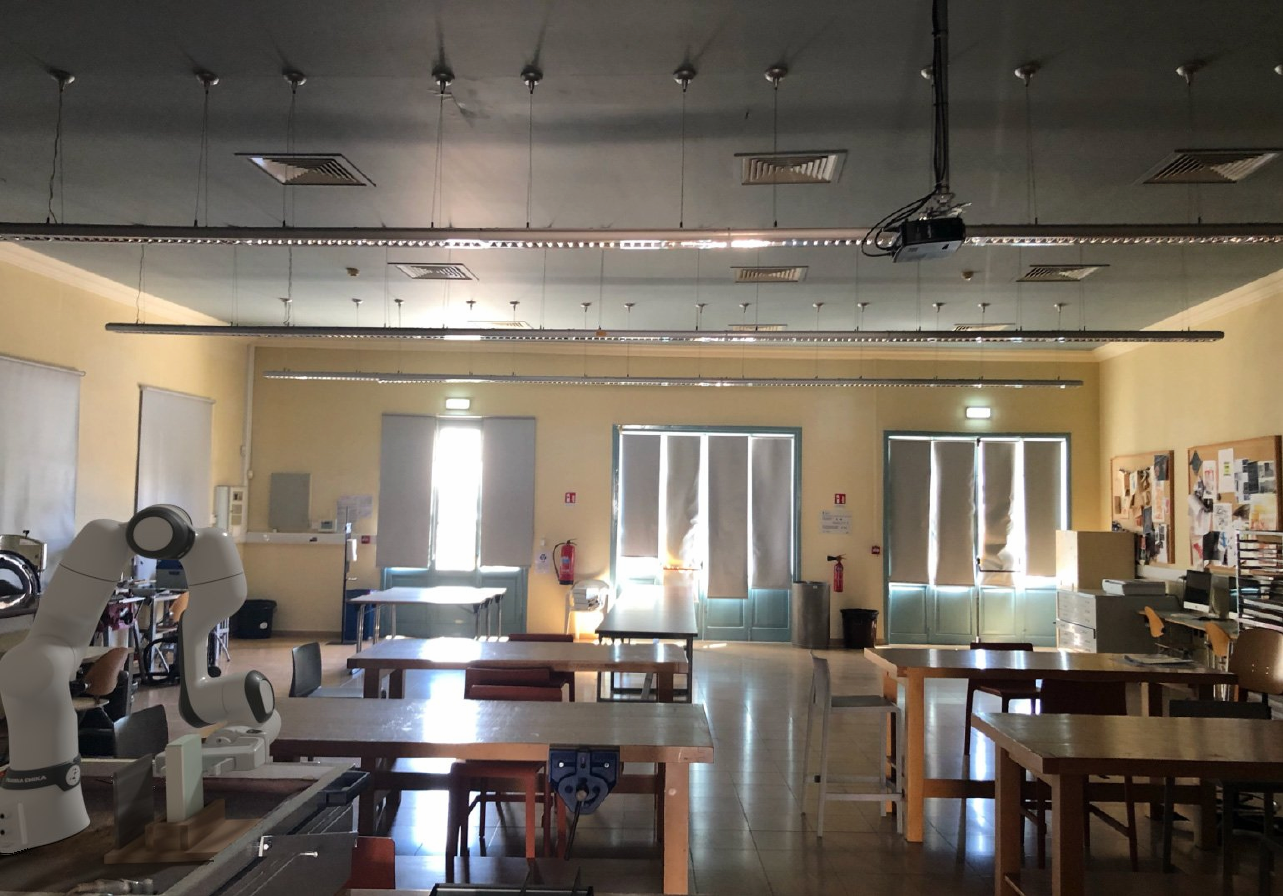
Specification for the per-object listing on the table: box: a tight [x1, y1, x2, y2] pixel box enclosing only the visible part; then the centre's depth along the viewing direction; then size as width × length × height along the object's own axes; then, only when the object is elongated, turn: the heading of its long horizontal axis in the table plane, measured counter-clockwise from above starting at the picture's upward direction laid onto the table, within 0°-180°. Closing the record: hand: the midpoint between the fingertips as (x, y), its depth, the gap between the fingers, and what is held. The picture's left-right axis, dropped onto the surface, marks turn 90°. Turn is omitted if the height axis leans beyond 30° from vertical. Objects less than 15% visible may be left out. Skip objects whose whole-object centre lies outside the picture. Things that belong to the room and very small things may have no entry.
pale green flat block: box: [164, 733, 204, 822], centre depth 154 cm, size 3×6×18 cm, turn 177°
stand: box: [103, 753, 264, 865], centre depth 154 cm, size 22×14×16 cm, turn 87°
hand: (187, 772), depth 154 cm, fingers open, 8 cm apart
